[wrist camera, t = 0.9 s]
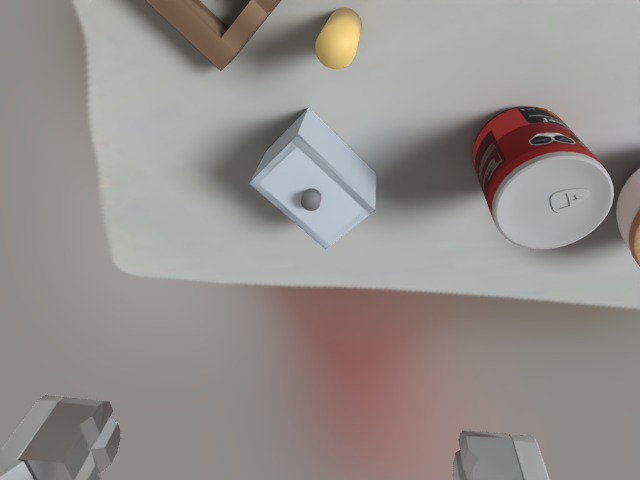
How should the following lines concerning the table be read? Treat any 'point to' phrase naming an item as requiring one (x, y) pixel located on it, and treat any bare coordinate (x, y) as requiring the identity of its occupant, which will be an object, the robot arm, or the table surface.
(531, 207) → the canned food
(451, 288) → the table surface
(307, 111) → the cover
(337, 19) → the peg
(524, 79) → the table surface
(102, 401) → the robot arm
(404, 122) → the table surface
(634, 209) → the lidded jar
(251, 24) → the socket board
